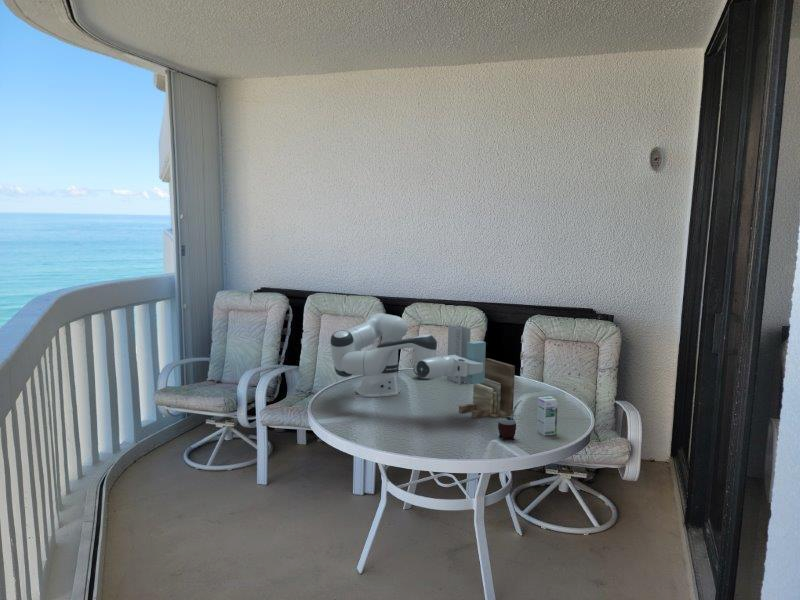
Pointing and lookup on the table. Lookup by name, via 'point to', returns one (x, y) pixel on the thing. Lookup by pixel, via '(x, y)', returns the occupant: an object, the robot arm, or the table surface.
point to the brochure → (458, 346)
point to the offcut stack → (487, 395)
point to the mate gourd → (507, 426)
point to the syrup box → (547, 415)
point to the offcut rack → (506, 377)
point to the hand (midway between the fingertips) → (477, 362)
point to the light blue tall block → (476, 354)
